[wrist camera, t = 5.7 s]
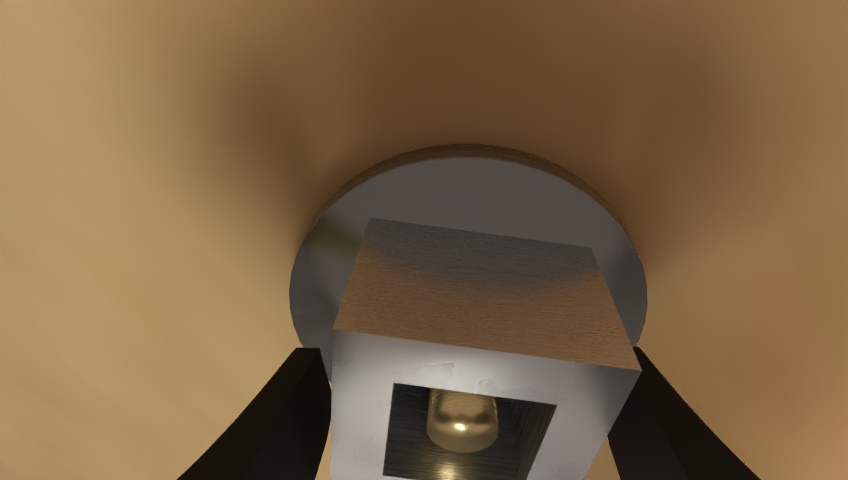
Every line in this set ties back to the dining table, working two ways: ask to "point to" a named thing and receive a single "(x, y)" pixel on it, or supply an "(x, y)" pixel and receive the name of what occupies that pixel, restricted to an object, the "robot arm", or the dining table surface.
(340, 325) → the collar
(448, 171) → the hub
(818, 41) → the dining table surface
